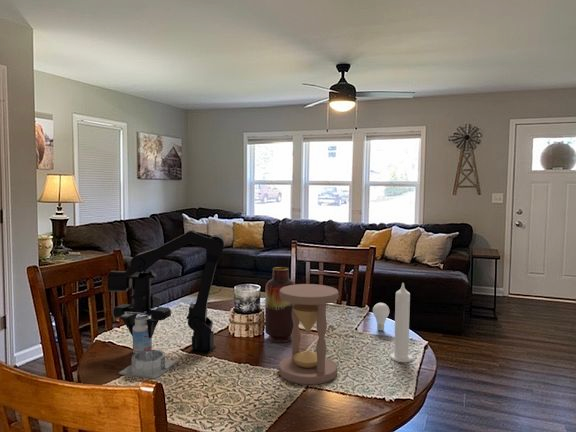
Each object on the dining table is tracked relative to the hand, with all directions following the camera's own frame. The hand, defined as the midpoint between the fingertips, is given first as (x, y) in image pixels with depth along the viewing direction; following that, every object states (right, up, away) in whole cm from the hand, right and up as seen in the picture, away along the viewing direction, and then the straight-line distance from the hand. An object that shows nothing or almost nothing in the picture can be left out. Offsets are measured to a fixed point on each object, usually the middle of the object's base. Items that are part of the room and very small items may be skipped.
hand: (142, 337), depth 149 cm
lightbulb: (+85, -4, +24) cm, 88 cm away
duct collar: (+7, -6, -14) cm, 16 cm away
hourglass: (+55, -7, -15) cm, 57 cm away
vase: (+46, -5, +14) cm, 48 cm away
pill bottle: (0, -5, 0) cm, 5 cm away
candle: (+86, -6, -4) cm, 86 cm away
